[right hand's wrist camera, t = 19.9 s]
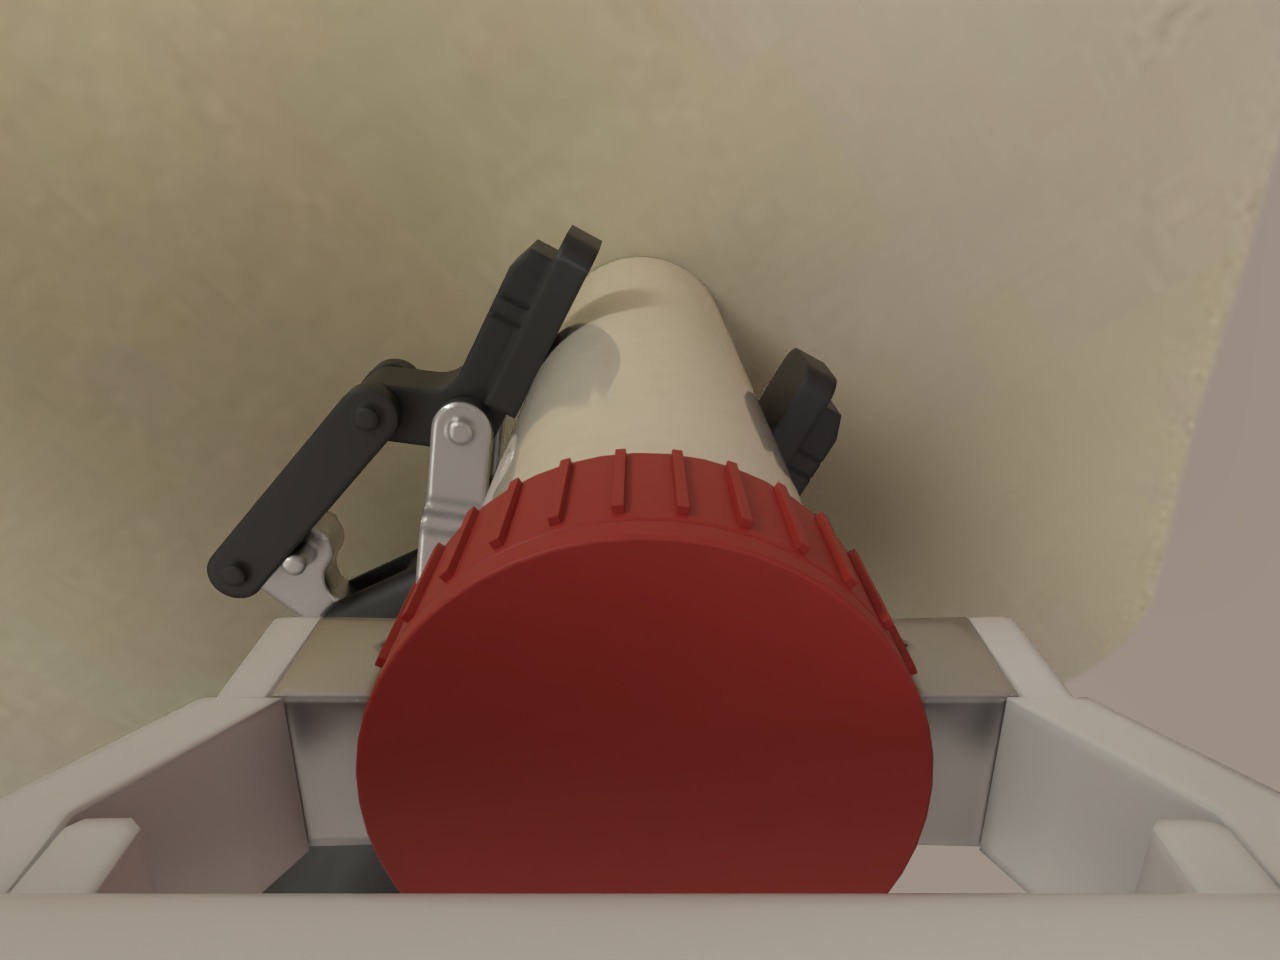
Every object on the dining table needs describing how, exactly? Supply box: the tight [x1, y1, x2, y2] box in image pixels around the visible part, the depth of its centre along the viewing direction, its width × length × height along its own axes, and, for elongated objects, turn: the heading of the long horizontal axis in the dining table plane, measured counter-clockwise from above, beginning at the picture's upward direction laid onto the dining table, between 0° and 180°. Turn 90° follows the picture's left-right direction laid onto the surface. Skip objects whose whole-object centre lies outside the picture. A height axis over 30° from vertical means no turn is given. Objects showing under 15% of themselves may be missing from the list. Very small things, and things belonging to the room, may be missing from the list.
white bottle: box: [481, 257, 803, 508], centre depth 17 cm, size 5×5×18 cm
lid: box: [356, 449, 934, 893], centre depth 9 cm, size 6×6×2 cm
